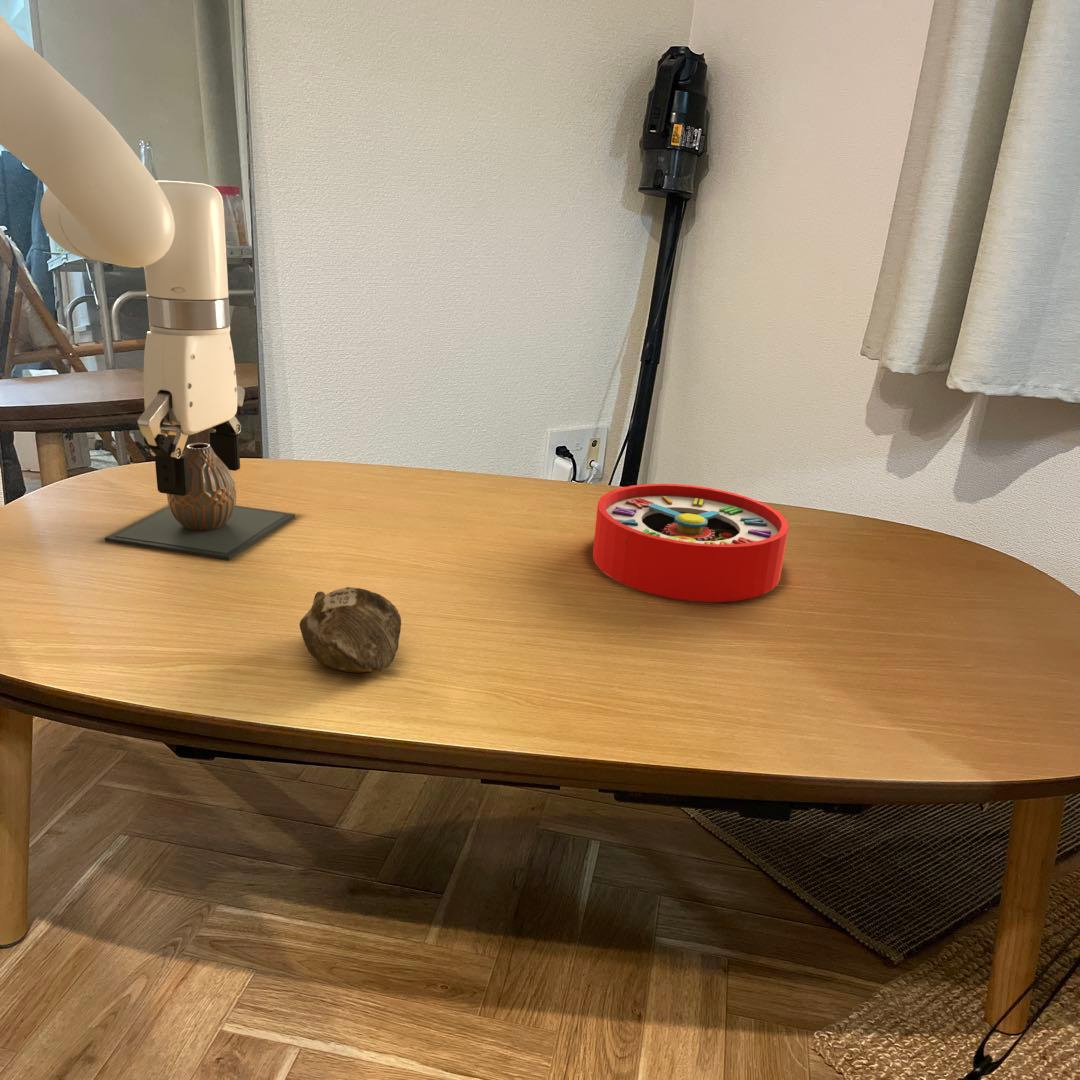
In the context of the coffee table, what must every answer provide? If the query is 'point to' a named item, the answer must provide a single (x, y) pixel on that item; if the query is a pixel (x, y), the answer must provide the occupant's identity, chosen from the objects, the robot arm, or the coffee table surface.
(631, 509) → the toy clock
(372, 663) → the fossilized seashell
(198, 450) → the vase
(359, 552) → the coffee table surface
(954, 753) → the coffee table surface
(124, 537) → the mat
